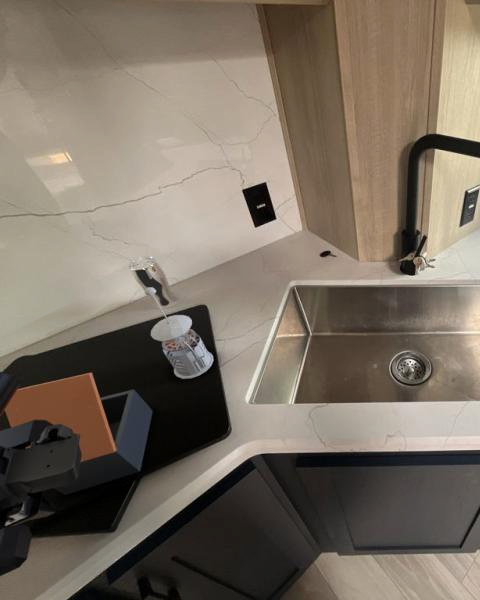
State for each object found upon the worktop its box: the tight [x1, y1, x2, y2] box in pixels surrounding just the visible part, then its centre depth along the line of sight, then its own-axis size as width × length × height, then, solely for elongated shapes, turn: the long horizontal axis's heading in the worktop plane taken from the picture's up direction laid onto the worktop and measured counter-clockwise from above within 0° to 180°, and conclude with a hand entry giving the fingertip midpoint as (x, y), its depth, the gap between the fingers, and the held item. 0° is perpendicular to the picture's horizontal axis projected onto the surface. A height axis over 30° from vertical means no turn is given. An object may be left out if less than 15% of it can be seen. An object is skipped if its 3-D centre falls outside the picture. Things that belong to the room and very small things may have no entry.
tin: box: [53, 389, 154, 496], centre depth 62 cm, size 14×12×9 cm
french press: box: [144, 287, 214, 380], centre depth 73 cm, size 10×12×25 cm
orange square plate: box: [4, 372, 116, 462], centre depth 53 cm, size 14×12×1 cm
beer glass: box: [127, 256, 178, 310], centre depth 93 cm, size 7×7×15 cm
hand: (51, 511), depth 46 cm, fingers closed
